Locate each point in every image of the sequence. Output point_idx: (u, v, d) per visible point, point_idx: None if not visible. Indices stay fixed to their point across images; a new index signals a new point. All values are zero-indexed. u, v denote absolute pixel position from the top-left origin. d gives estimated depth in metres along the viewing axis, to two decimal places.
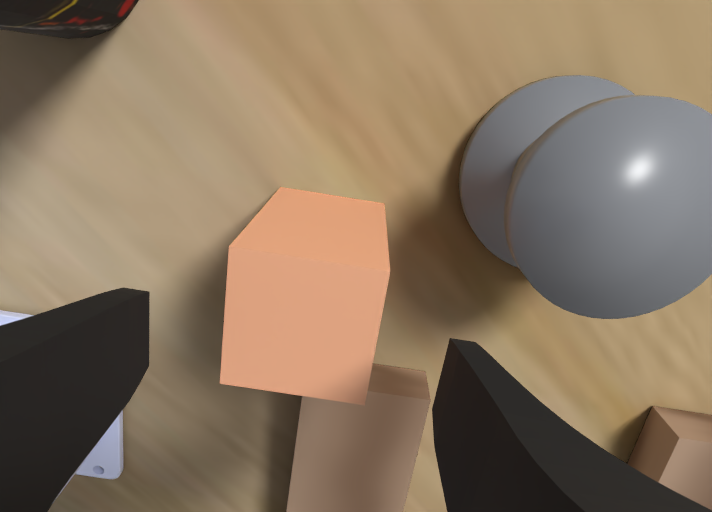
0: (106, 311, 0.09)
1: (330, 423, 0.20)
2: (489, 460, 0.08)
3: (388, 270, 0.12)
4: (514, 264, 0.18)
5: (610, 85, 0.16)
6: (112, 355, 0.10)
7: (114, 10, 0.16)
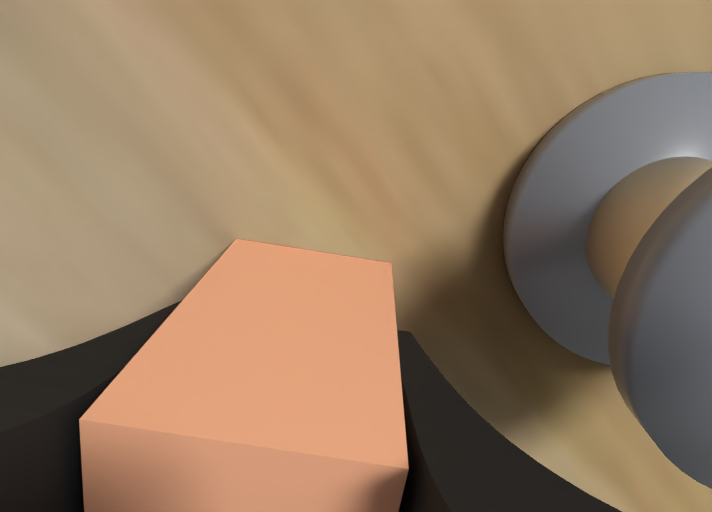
0: None
1: None
2: None
3: (404, 465, 0.06)
4: (585, 355, 0.12)
5: None
6: None
7: None
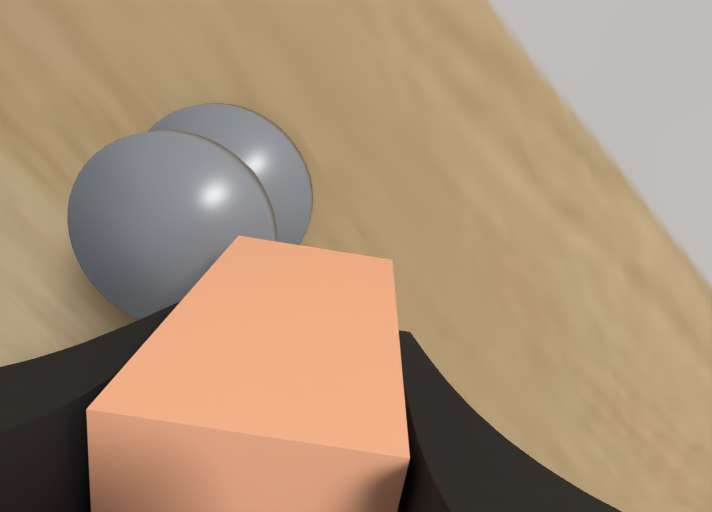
0: None
1: None
2: None
3: (406, 454, 0.06)
4: None
5: (241, 113, 0.18)
6: None
7: None
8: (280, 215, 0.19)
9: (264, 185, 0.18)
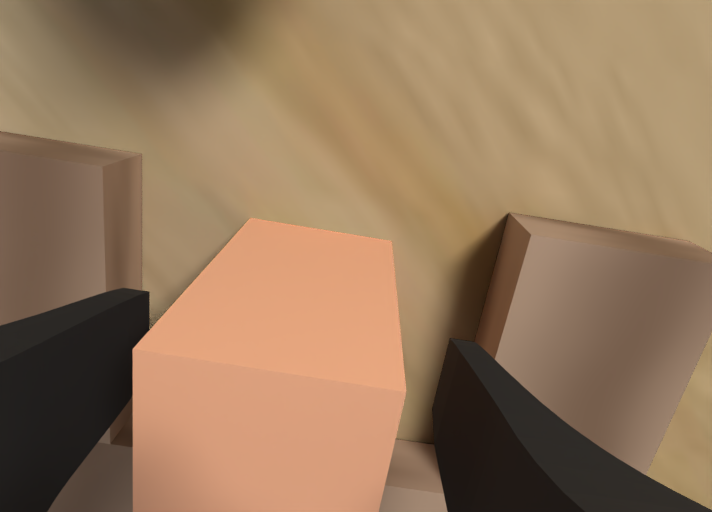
0: (106, 311, 0.09)
1: None
2: (489, 460, 0.08)
3: (403, 389, 0.07)
4: None
5: None
6: (112, 355, 0.10)
7: None
8: None
9: None
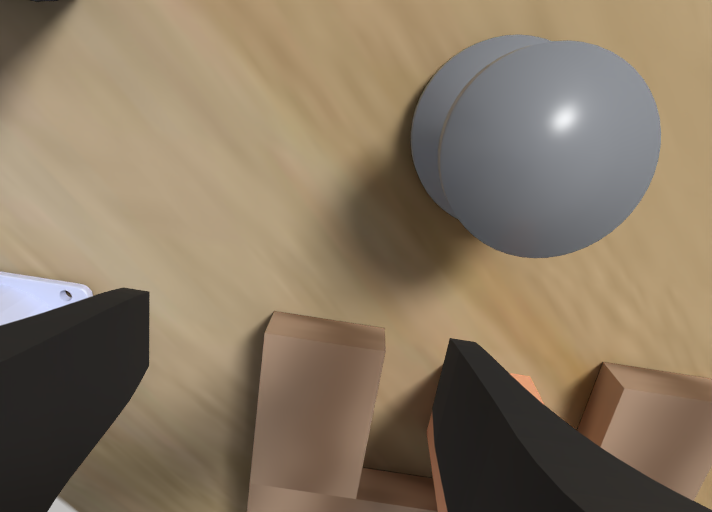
0: (106, 311, 0.09)
1: (291, 375, 0.21)
2: (489, 460, 0.08)
3: None
4: None
5: None
6: (112, 355, 0.10)
7: None
8: None
9: None
